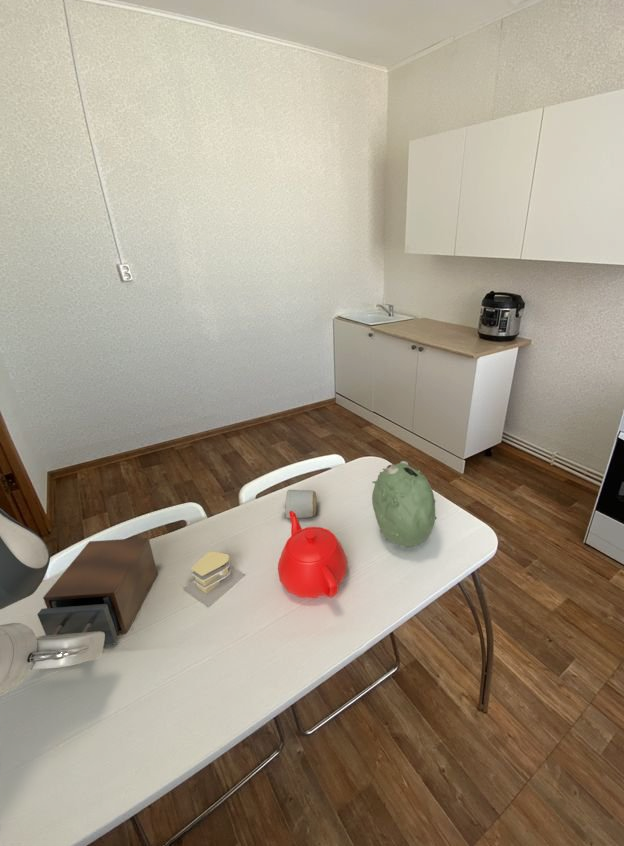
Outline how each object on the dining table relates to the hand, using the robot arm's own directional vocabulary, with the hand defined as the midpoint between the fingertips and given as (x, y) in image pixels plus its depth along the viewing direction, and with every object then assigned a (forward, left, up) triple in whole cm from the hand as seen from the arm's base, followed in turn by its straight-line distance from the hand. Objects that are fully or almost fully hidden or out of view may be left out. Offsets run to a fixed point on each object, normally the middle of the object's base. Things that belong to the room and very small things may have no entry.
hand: (60, 643), depth 66 cm
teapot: (+42, +18, -7) cm, 46 cm away
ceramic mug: (+38, +41, -7) cm, 56 cm away
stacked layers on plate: (+20, +18, -7) cm, 28 cm away
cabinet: (0, +14, -7) cm, 15 cm away
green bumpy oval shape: (+65, +28, -7) cm, 71 cm away
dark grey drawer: (0, +8, -6) cm, 10 cm away
